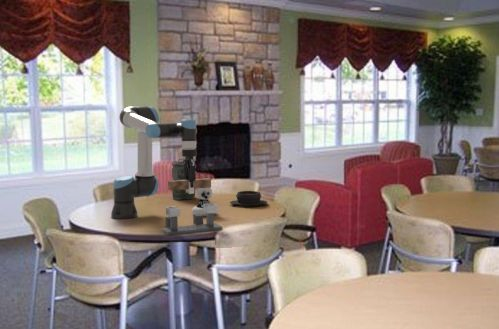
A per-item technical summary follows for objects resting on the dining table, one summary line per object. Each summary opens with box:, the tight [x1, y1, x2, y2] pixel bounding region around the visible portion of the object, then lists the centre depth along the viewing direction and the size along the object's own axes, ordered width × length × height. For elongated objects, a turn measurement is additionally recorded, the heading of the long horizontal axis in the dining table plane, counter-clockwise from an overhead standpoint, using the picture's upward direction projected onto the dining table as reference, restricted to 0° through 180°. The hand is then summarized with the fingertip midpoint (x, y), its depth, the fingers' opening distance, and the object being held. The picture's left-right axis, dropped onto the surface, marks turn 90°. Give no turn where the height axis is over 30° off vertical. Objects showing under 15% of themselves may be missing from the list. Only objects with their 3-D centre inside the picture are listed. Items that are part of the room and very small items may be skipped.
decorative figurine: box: [191, 187, 216, 217], centre depth 323 cm, size 15×15×20 cm
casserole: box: [229, 190, 268, 207], centre depth 353 cm, size 25×19×8 cm
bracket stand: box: [161, 202, 223, 236], centre depth 282 cm, size 30×10×13 cm, turn 115°
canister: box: [171, 158, 196, 201], centre depth 377 cm, size 16×16×28 cm
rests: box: [164, 214, 204, 228], centre depth 294 cm, size 20×5×5 cm, turn 115°
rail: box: [167, 177, 212, 191], centre depth 284 cm, size 22×4×4 cm, turn 115°
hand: (190, 192), depth 284 cm, fingers closed on rail, 4 cm apart
